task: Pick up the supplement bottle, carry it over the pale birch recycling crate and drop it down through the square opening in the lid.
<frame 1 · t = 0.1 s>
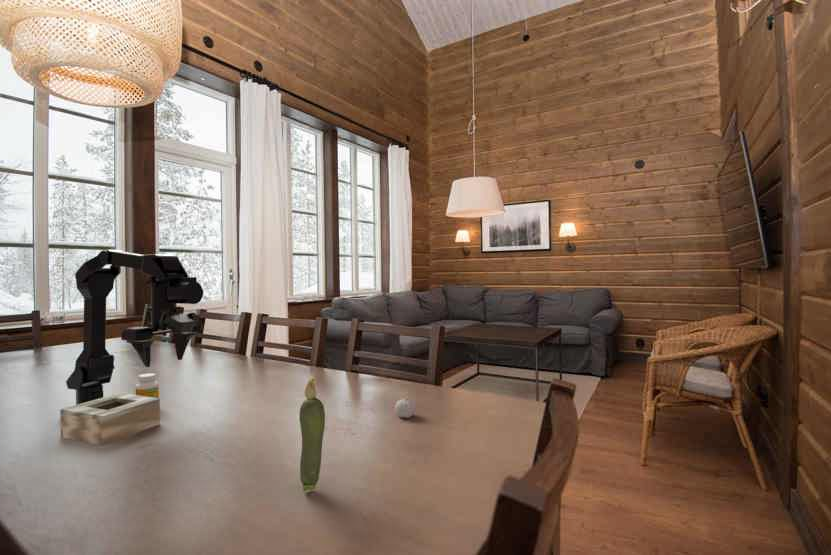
hand: (164, 363, 111), 15 cm above the table, fingers open, 9 cm apart
crate: (112, 430, 104), on the table
vegetable: (312, 490, 76), on the table
supplement bottle: (147, 410, 119), on the table
garlic: (405, 417, 114), on the table
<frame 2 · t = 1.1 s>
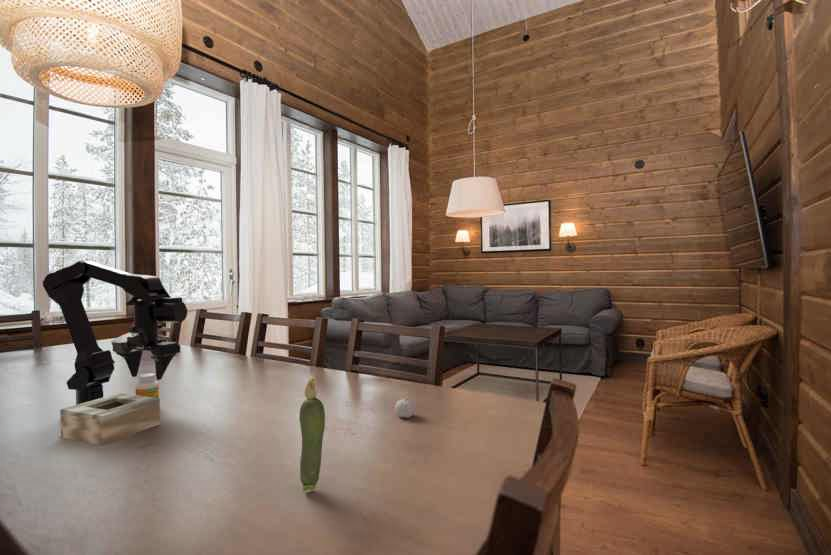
hand: (146, 378, 119), 9 cm above the table, fingers open, 9 cm apart
nothing on the table moved.
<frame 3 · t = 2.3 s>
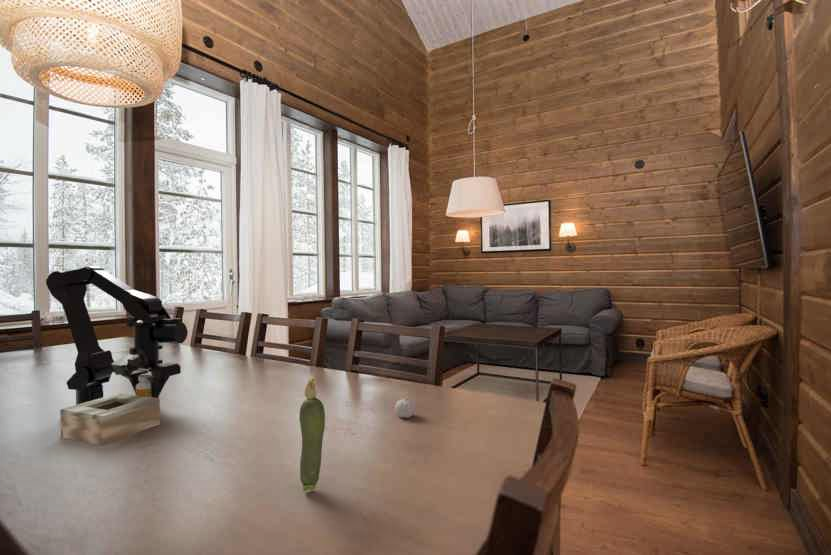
hand: (147, 399, 119), 3 cm above the table, fingers closed on supplement bottle, 5 cm apart
supplement bottle: (147, 410, 119), on the table, touching gripper
everything else where it was.
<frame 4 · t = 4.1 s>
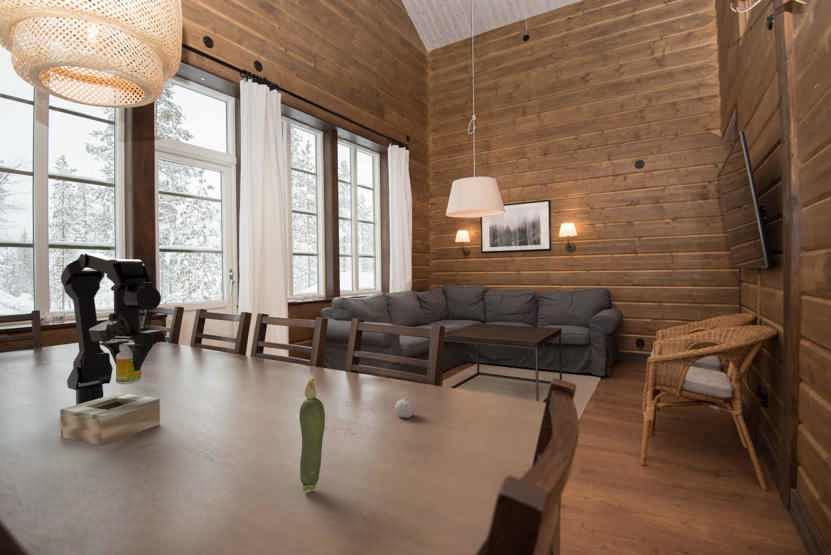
hand: (128, 369, 110), 13 cm above the table, fingers closed on supplement bottle, 5 cm apart
supplement bottle: (128, 382, 110), point 10 cm above the table, touching gripper
everything else where it was.
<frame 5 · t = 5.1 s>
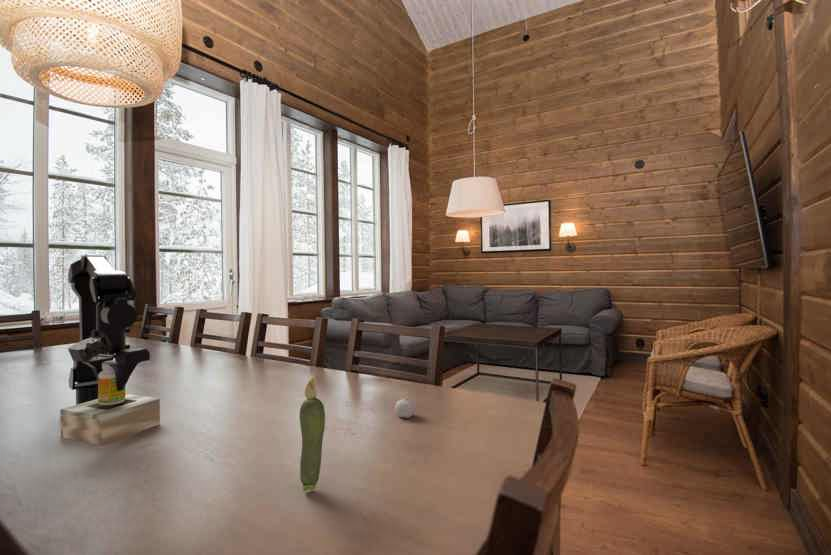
hand: (111, 389, 104), 10 cm above the table, fingers closed on supplement bottle, 5 cm apart
supplement bottle: (111, 402, 104), point 7 cm above the table, touching gripper
everything else where it was.
when the fingers open (7 cm above the table, at t = 5.9 s): supplement bottle drops 4 cm, resting on crate.
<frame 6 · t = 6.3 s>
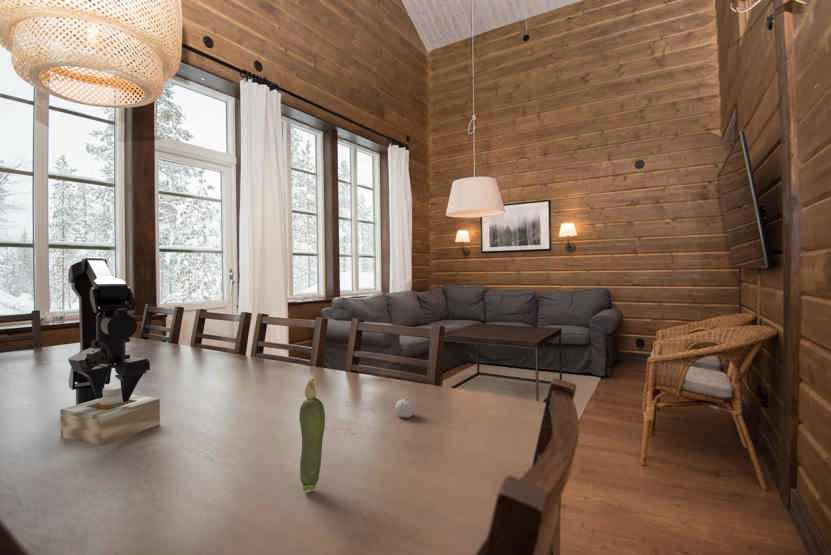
hand: (111, 399, 104), 7 cm above the table, fingers open, 9 cm apart
supplement bottle: (112, 428, 104), resting on crate
everything else where it was.
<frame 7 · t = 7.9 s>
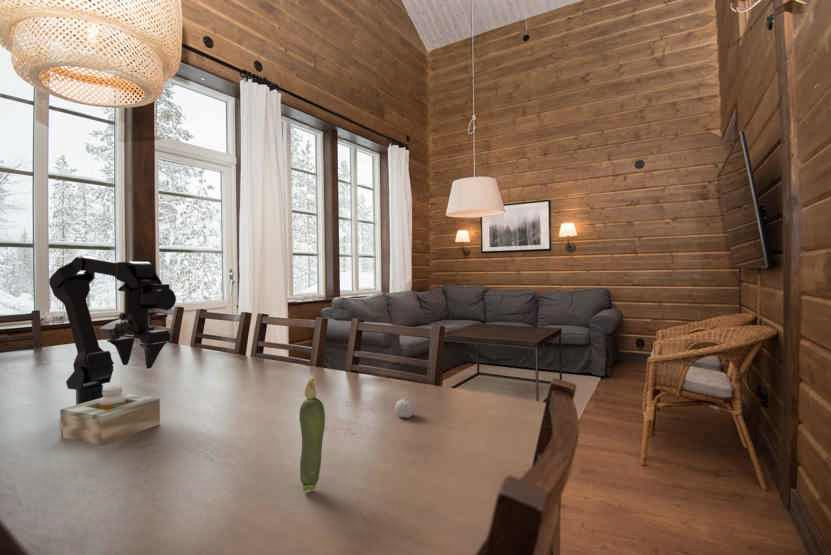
hand: (136, 366, 115), 13 cm above the table, fingers open, 9 cm apart
nothing on the table moved.
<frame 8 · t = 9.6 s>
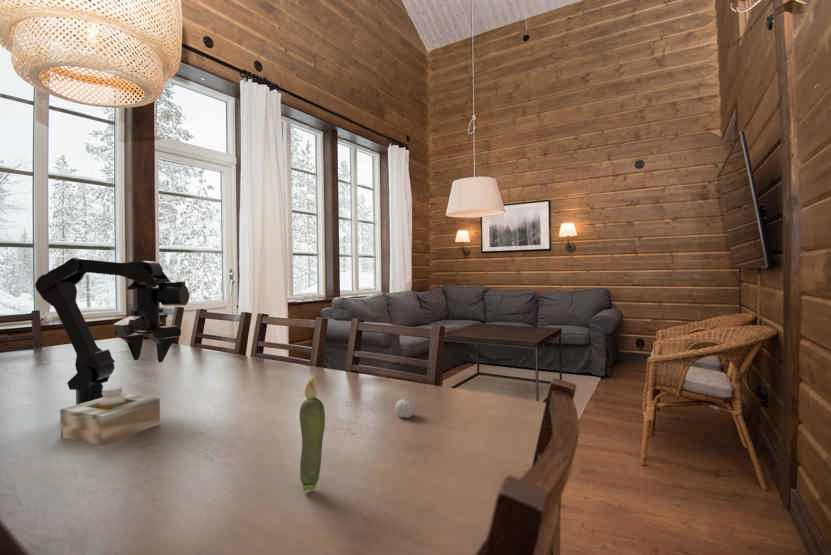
hand: (148, 361, 121), 13 cm above the table, fingers open, 9 cm apart
nothing on the table moved.
at the end: supplement bottle inside the target area on the crate (0.2 cm from its centre), point 0.3 cm above the crate's base; the gripper is holding nothing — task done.
